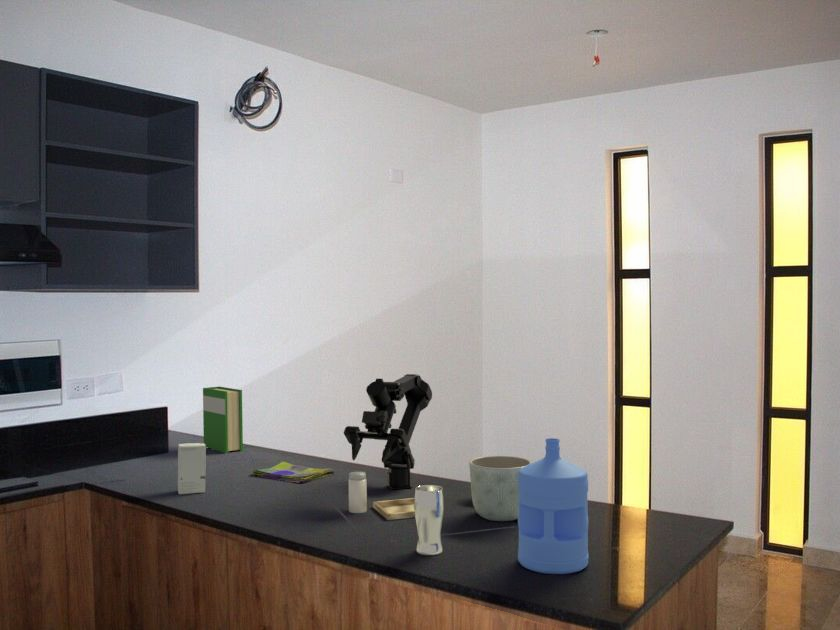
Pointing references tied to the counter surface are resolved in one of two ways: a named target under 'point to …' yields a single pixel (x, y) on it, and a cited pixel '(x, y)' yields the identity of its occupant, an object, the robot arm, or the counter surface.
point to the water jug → (553, 514)
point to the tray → (396, 508)
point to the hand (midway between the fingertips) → (367, 460)
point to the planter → (496, 486)
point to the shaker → (357, 492)
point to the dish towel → (292, 473)
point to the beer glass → (429, 518)
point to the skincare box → (191, 468)
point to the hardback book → (222, 419)
